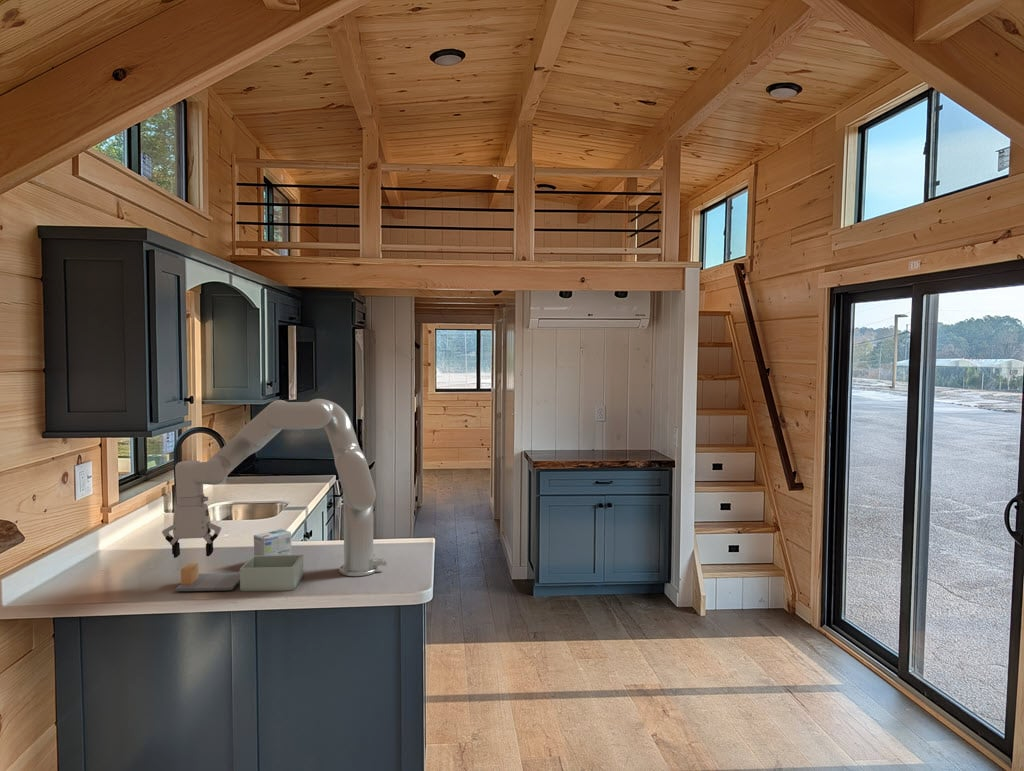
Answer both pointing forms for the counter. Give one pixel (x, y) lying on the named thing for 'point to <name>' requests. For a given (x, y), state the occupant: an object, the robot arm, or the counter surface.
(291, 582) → the parts tub
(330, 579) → the counter surface
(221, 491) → the counter surface
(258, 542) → the light bulb box
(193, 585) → the snap lid
